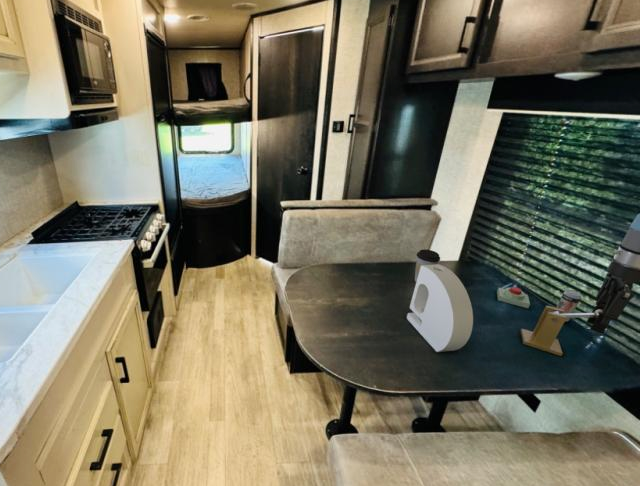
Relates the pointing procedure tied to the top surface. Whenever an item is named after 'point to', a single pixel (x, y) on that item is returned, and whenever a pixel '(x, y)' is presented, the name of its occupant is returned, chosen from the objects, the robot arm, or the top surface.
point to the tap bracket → (546, 332)
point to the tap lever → (579, 314)
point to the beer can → (569, 302)
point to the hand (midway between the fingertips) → (594, 327)
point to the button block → (513, 297)
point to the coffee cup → (426, 260)
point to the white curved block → (441, 308)
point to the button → (515, 290)
